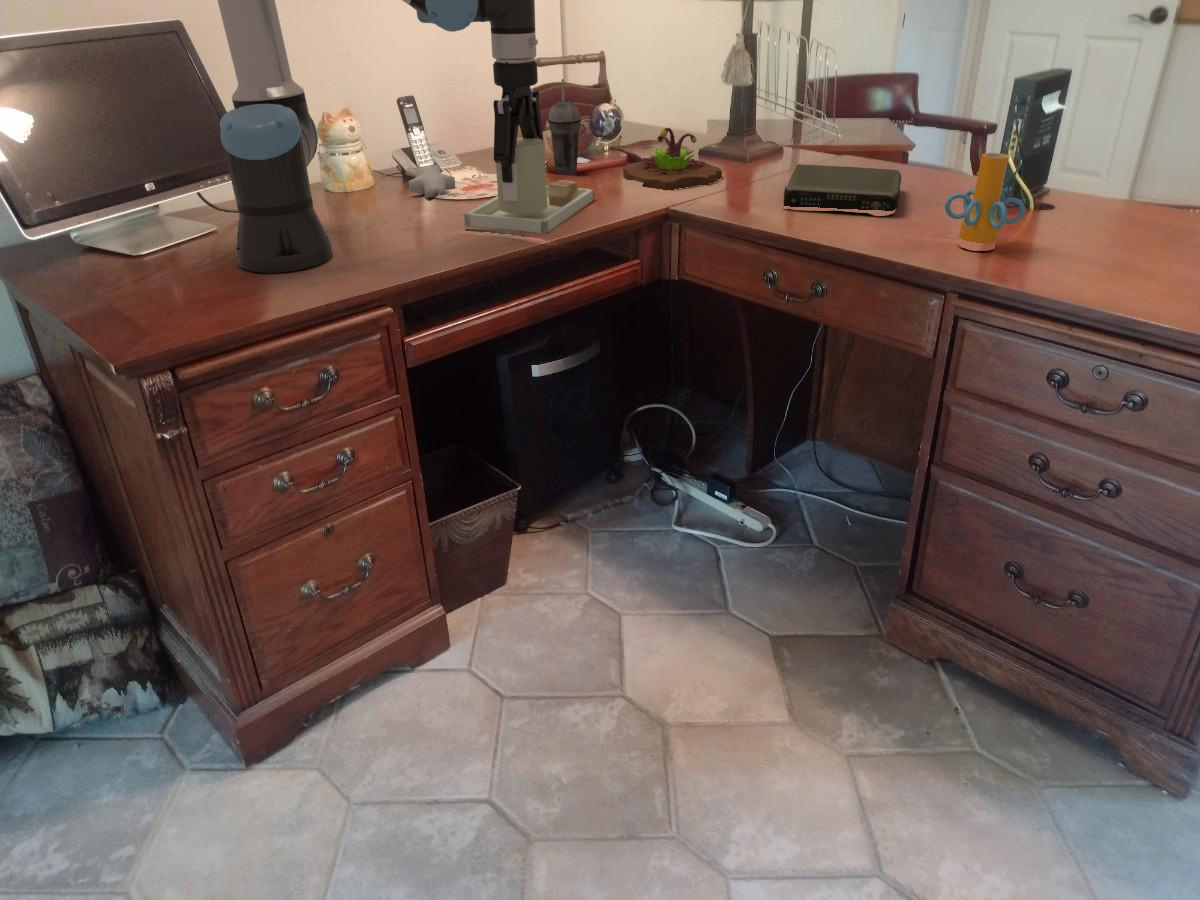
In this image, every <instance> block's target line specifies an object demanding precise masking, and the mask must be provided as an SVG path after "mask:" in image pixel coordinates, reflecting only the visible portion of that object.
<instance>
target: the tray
mask: <svg viewBox="0 0 1200 900" xmlns="http://www.w3.org/2000/svg"><path fill="white" fill-rule="evenodd" d="M546 195H547V204H548V207H547V208H546V209H545V210H542V211H539V212H535V213H526V214H515V213H507V212H503V211H501V210H499V209H498V195H496V196H495V197H493V198H491V199H489V200H488V201H486V202H484V203H482V204H480V205H478V206H476V207H474V208H473V209H471V210H468V211H467V212H465V213H464V214H463V217H464V226H466V227H467V226H468V227H477V228H479V229H473V228H465V231H466V232H474V231H477V233H484V232H491V233H490V234H494V233H499V234H498V235H504V234H511V235H510V236H514V235H521V236H520V237H524V236H528V235H526V234H522V233H521V234H520V233H517V232H518V231H519V232H526V233H527V232H528V233H529V232H530V233H538V234H547V233H550V232H551V231H553V229H555V228H556V227H557V226H559V225H561V224H562V223H563V222H565V221H566V220H568V219H569V218H571V217H572V216H573V215H575V214H576V213H577V212H579V211H580V210H582V209H584V207H586V206H588V205H589V204H591V203H592V202H593V201H595V189H594V188H582V187H581V188H580V187H578V197H577V198H575V199H574V200H572V201H571V202H569V203H568V204H566V205H564V206H563V207H558V206H553V205H549V186H548V185H546ZM480 228H488V229H480ZM507 230H509V231H507ZM478 231H479V232H478ZM513 231H517V232H513Z"/></svg>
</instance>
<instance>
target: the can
mask: <svg viewBox="0 0 1200 900" xmlns="http://www.w3.org/2000/svg"><path fill="white" fill-rule="evenodd" d="M545 148H546V141H545V140H541V139H537V138H535V139H534V138H523V137H522V136H520V137H518V136H517V141H516V147H515V156H514V163H517V179H518V197H519V200H518V201H508V200H503V189H502V174H501V163H495V168H496V183H497V196H498V209H499V210H501V211H503V212H507V213H515V214H526V213H535V212H539V211H542V210H545V209H546V208H547V207H548V204H547V195H546V186H547V180H546V179H547V176H546V174H547V173H546V149H545Z"/></svg>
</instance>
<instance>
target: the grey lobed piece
mask: <svg viewBox="0 0 1200 900" xmlns="http://www.w3.org/2000/svg"><path fill="white" fill-rule="evenodd" d="M442 172H443V170H442V167H441V166H440V165H439V164H435V165H428V166H427V165H426V166H424V165H423V166H416V167H411V166H409V167H408V166H407V168H406V171H405V175H406V176H409V177H412V179H410V180H408V186H409V187H408V188H409V192H410V193H415V194H416V193H417V194H422V195H424V199H435V198H436V197H438V196H441V195H447V190H451V189H456V178H455V177H454V176H452V175H448V174H444V173H442Z"/></svg>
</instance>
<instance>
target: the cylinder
mask: <svg viewBox="0 0 1200 900" xmlns="http://www.w3.org/2000/svg"><path fill="white" fill-rule="evenodd" d="M1009 159H1010V156H1009V155H1008V154H1005V153H1001V152H1000V153H998V152H985V153H982V154H981V158H980V164H979V169H978V173H977V178H976V183H975V189H974V188H973V189H969V190H968V191H967V192H966V193H961V192H957V193H954V194H952V195H950V196H949V197H948V198H947V200H946V201H945V204H944V210H945V213H946V214H947V216H948V217H950V218H952V219H955V220H960V219H963V220H962V222H961V226H960V230H959V235H958V238H959V237H960V238H961V239H963V240H966V241H970V242H976V243H993V242H996V241H997V242H998V239H999V234H1000V231H1001V230H1000V229H1001V228H1002V227H1003V226H1004V225H1005V224H1006V225H1011V224H1016V223H1017V222H1019V221H1020V220H1021V219H1022V218H1023V217H1024V215H1025V213H1026V207H1025V204H1024V202H1023V201H1022V200H1021V199H1019V198H1017V197H1007V198H1005V197H1006V196H1005V194H1004V192H1003V185H1004V181H1005V177H1006V171H1007V167H1008V164H1009V163H1008V162H1009ZM971 195H973V197H972V198H971ZM956 199H963V201H962V202H963V203H962V206H963V209H964V212H962V213H960V214H959V213H954V212H953V211H952V210H951V203H953V201H954V200H956ZM1009 203H1013V204H1016V205H1017V206H1018V207H1019V212H1018V214H1017V215H1016V216H1015V217H1014V218H1008V211H1007V207H1006V205H1007V204H1009Z"/></svg>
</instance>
